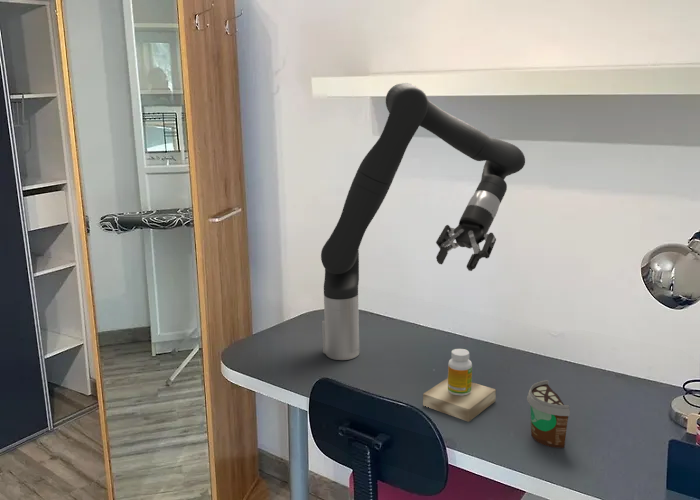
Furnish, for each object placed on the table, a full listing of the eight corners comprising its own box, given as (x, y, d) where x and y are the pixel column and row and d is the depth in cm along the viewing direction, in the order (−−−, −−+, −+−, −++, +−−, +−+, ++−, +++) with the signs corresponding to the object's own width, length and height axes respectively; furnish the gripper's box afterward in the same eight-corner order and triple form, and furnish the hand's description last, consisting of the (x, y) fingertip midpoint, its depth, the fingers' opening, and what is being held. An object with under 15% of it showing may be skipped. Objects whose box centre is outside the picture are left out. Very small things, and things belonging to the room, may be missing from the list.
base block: (423, 405, 154) (423, 393, 153) (450, 387, 163) (451, 375, 162) (468, 421, 146) (469, 409, 146) (495, 401, 155) (495, 389, 154)
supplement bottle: (471, 397, 151) (472, 357, 148) (447, 395, 152) (447, 356, 149) (471, 386, 156) (472, 348, 154) (448, 384, 157) (449, 346, 155)
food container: (517, 422, 146) (519, 380, 143) (544, 421, 146) (547, 379, 143) (537, 453, 134) (540, 408, 131) (567, 451, 134) (570, 406, 132)
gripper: (450, 200, 171) (423, 252, 165) (501, 207, 162) (474, 263, 156) (460, 217, 176) (435, 268, 170) (510, 225, 167) (484, 279, 161)
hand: (453, 265), depth 163 cm, fingers open, 8 cm apart
